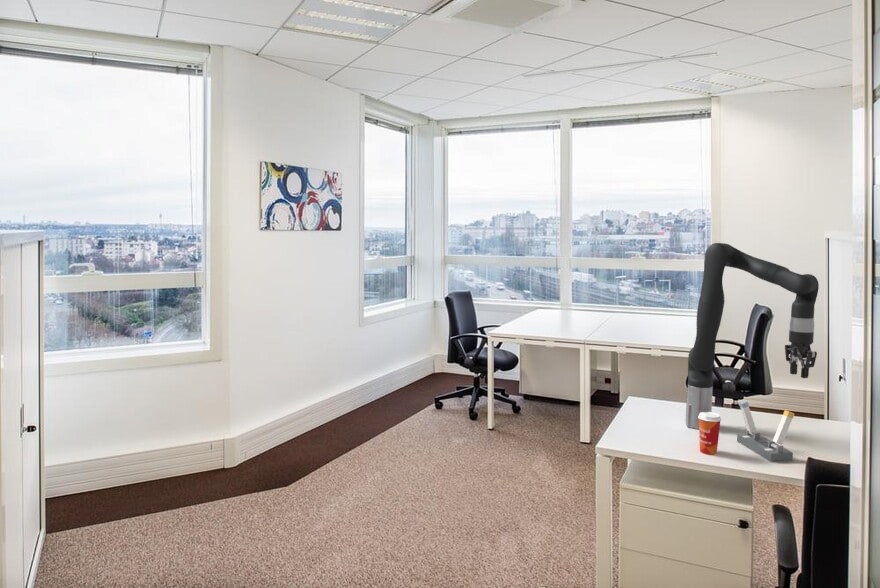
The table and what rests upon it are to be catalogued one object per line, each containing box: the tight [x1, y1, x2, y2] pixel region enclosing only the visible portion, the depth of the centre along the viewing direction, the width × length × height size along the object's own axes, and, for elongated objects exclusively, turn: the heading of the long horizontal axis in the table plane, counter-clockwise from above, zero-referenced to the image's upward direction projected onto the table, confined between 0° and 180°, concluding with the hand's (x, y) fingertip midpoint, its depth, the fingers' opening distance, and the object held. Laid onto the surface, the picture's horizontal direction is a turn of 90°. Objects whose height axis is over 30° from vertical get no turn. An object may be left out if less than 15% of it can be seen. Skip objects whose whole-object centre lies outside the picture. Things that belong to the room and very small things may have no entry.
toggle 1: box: [738, 399, 757, 436], centre depth 218 cm, size 2×3×14 cm
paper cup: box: [698, 411, 722, 456], centre depth 212 cm, size 8×8×14 cm
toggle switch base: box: [736, 428, 794, 463], centre depth 213 cm, size 8×20×5 cm, turn 5°
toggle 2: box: [771, 409, 795, 449], centre depth 206 cm, size 2×3×14 cm
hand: (798, 375), depth 212 cm, fingers open, 5 cm apart
